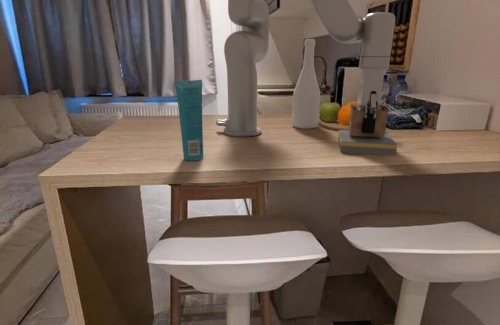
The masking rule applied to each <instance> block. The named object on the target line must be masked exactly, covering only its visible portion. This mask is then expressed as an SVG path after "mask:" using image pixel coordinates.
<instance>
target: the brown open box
mask: <svg viewBox="0 0 500 325" xmlns="http://www.w3.org/2000/svg"><path fill="white" fill-rule="evenodd" d="M389 108H390V107H388V106H387V105H386V104H384V103H381V104H380V108H376V121H375V129H374V133H362V123H363V118H364V115H365V110H360V109H359V106H357V105H356V102H355V103H354V102H351V103H350V111H349V118H348V119H349V120H348V128H347V130H348V131H349V134H350V135H352V136H371V137H385V132H386V129H387V123H388V122H387V121H388V114H389ZM367 111H368V110H367Z"/></svg>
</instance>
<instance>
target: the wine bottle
mask: <svg viewBox="0 0 500 325" xmlns="http://www.w3.org/2000/svg"><path fill="white" fill-rule="evenodd" d="M303 45H304V54H303V66H302V69H301V71H300V73H299V77H298V79H297V82H296V85H295V87H294V90H293V94H292V109H291V110H292V113H291V114H292V115H291V125H292V127H294V128H295V129H303V130H304V129H306V130H308V129H309V130H311V129H316V128H318V126H319V118H320V105H321V90H320V86H319V82H318V79H317V75H316V71H315V70H316V69H315V64H314V63H315V61H314V60H315V46H316V39H315V38H305V40H304V42H303Z"/></svg>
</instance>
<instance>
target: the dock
mask: <svg viewBox="0 0 500 325" xmlns="http://www.w3.org/2000/svg"><path fill="white" fill-rule="evenodd" d="M337 140H338V141H337V142H338V145H339V146H338V147H339V151H340V153H349V154H350V153H353V154H366V155H367V154H368V155H382V156H383V155H385V156H396V154H397V148H398V144H397V142H396V141H395V140H394V139H393V138H392V137H391V135H390V134H389V133H388V132H386V131H385V137H371V136H352V135H350V134H349V131H348V129H347V130H345V129H344V130H343V129H339V130H338V131H337Z"/></svg>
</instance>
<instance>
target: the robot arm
mask: <svg viewBox="0 0 500 325" xmlns="http://www.w3.org/2000/svg"><path fill="white" fill-rule="evenodd" d="M310 2H311V3H312V5H313V7H314V10H315V12H316V14H317V16H318V17H319V19H320V21H321V23H322V24H323V26H324V28H325V30H326V31H327V34H329V36H330V37H331V38H332V40H334V41H335V42H338V43H340V44H345V45H351V44H352V45H353V44H358V43H361V46H360V53H359V62H358V63H359V64H358V70H361V72H360V73H361V74H360V80H359V84H358V86H359V88H358V94H357V100H356V101H357V102H356V103H357V105H358V107H359V106H360V107H361V108H363V106H365V115H364V118H363V123H362V133H374V129H375V121H376V108H378V107H379V106H380V103H381V100H382V93H383V85H384V79H385V78H384V75H385V71H389V68H390V62H391V54H392V47H393V40H394V33H395V32H394V31H395V26H396V16H395V14H394V13H392V12H387V11H382V12H381V11H380V12H379V11H378V12H371V13H368V14H366V15H361V14H360V15H359V14H356V12H355V10H354V9H353V7H352V5H351V4H350V2H349V0H310ZM227 11H228V12H227V15H228V18H229V19H230V22H232V23H233V24H234V25H237V26H239V27H241V30H237V31H234V32H232V33H230V35H228V37H227V38H226V39H225V41H224V42H225V43H224V48H223V53H224V58H225V59H224V60H225V64H226V76H227V77H226V78H227V80H226V81H227V118H225V119H218V118H217V119H216V121H215V125H216V126H217V127H224V128H223V134H225V135H227V136H231V137H237V138H239V137H240V138H241V137H243V138H244V137H245V138H246V137H253V136H258V135H260V134H262V128H261V127H258V122H257V121H258V71H257V66H256V64H257V63H260V62H261V61H263V60H264V59H265V58H266V57H267V54H268V50H269V43H270V42H269V39H270V36H269V35H270V10H269V6H268V4H267V3H266V1H265V0H227ZM367 105H370V106H367ZM367 110H368V111H367Z"/></svg>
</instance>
